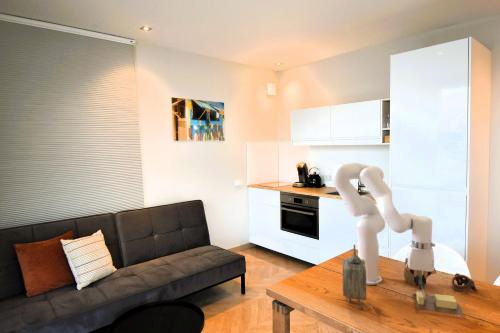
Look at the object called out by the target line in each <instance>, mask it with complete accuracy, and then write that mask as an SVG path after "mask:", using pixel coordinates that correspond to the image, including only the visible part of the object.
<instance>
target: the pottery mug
mask: <svg viewBox="0 0 500 333" xmlns="http://www.w3.org/2000/svg"><path fill="white" fill-rule="evenodd" d="M455 282H456V283H455ZM451 289H452V290H454V291H456V292H461V293H463V292H467V291H470V292H473V291H472V289H473V290H475V291H478V289H477V287H476V284H475V281H474V280H473V279H471V277H469V276H468V275H465V274H460V273H458V272H457V273H455V274H454V276H453V277H452V278H451Z"/></svg>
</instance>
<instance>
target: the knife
mask: <svg viewBox="0 0 500 333" xmlns="http://www.w3.org/2000/svg"><path fill="white" fill-rule="evenodd" d="M416 287H417V289H418V291H420V292H422V294H423V296H424V299H425V300H426V295H427V293H426V291H425V287H424V283H423V281H422V278H421V276H418V285H417V286H416Z"/></svg>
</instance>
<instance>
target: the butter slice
mask: <svg viewBox="0 0 500 333" xmlns="http://www.w3.org/2000/svg"><path fill="white" fill-rule="evenodd" d="M416 294H417V301H418V304H422V305H424V296H423V294H422V291H416Z"/></svg>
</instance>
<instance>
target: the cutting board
mask: <svg viewBox="0 0 500 333" xmlns="http://www.w3.org/2000/svg"><path fill="white" fill-rule="evenodd" d="M411 294H412V296H413V300H414V303H415V306H416V309H417V311H425V312H431V313H432V312H433V313H441V314H447V315H453V316H462V317H465V314H464V313H463V310H462V309H461V307H460V305H459V303H457V309H451V308H444V307H437V306H436V304H435V302H434V295H429V294H426V300H425V299H424V305H422V304H418V301H417V293H413V292H412V293H411Z"/></svg>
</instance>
